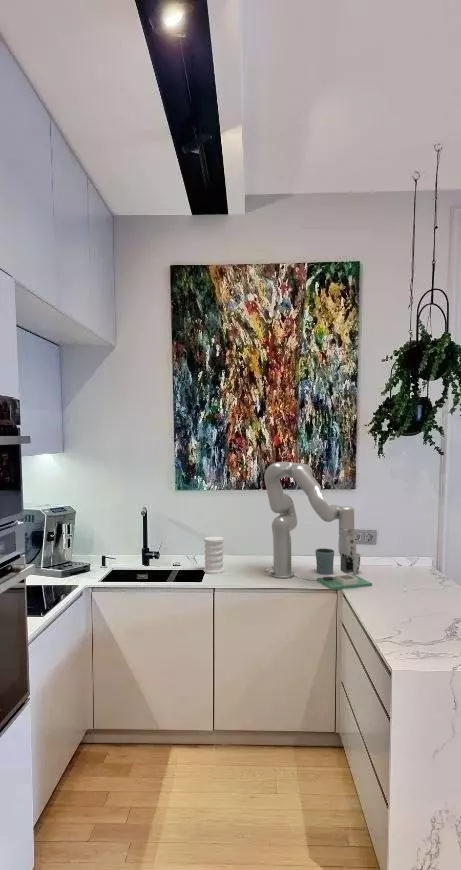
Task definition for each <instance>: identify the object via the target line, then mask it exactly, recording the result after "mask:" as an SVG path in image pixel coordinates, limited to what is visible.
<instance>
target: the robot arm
mask: <svg viewBox="0 0 461 870" xmlns="http://www.w3.org/2000/svg"><path fill="white" fill-rule="evenodd" d="M313 472H314V471H313V469H312V467H311V466H310V465H309V464H306V463H299V462H292V461H277V462H273V463H271V464H270V465H269V466H268V467H267V468H266V470H265V471H264V483H265V484H264V485H265V488H266V493H267V497H268V502H269V506H270V507H269V508H270V510H271V511H272V512H273V513H275V514H278V516H276V517H275V518H274V519H273V520H272V523H271V531H272V537H273V538H272V541H273V542H272V543H273V544H272V545H273V549H272V550H273V554H272V555H273V556H272V557H273V559H272V560H273V565H271V567H268V568H267V567H266V568H264V573H269V574H270V575H271V577H273V578H275V579H276V578H277V579H289V578H290V579H291V578H294V577H295V572H294V571H292V537H291V531H294V529H296V527H297V526H298V518H297V513H296V508H295V504H294V500H293V499H292V497H291V496H290V495H288V494H287V493H284V490H283V485H282V483H281V481H280V479H283V478H284V479H285V478H291V479H293V480H294V481H295V482H296V483H297V485H298V486H299V487H300V488H301V490H302V491H303V492H304V494H305V495H306V496H307V498H308V502H309V504H310V505H311V507H312V509H313V510H314V512H315V513H316V515H317V516H318V517H319V518H320V519H321V520H322V521H324V522H326V523H328V522H329V523H331V522H333V521H336V520H338V547H337V548H338V553H339V557H340V559H341V556H347V562H346V568H347V570H353V560H354V558H355V555H356V553H357V541H356V536H355V508H354V507H352V506H349V505H347V506H345V505H343V506H341V505H337V504H330V505H329V504H328V502H327V501H326V500H325V499H324V497H323V495H322V486H321V485H320V483H319V482H318V481H317V480H316V478H315V477H314V476H313ZM349 554H351V555H349ZM349 557H350V558H349Z"/></svg>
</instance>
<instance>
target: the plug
mask: <svg viewBox="0 0 461 870" xmlns="http://www.w3.org/2000/svg"><path fill="white" fill-rule="evenodd" d="M340 557H341V558H340V571H341V572H343V573H345V574H349V573H350V572H353V570H347V568H346V562H347V556H340ZM349 558H350V557H349Z"/></svg>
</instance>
